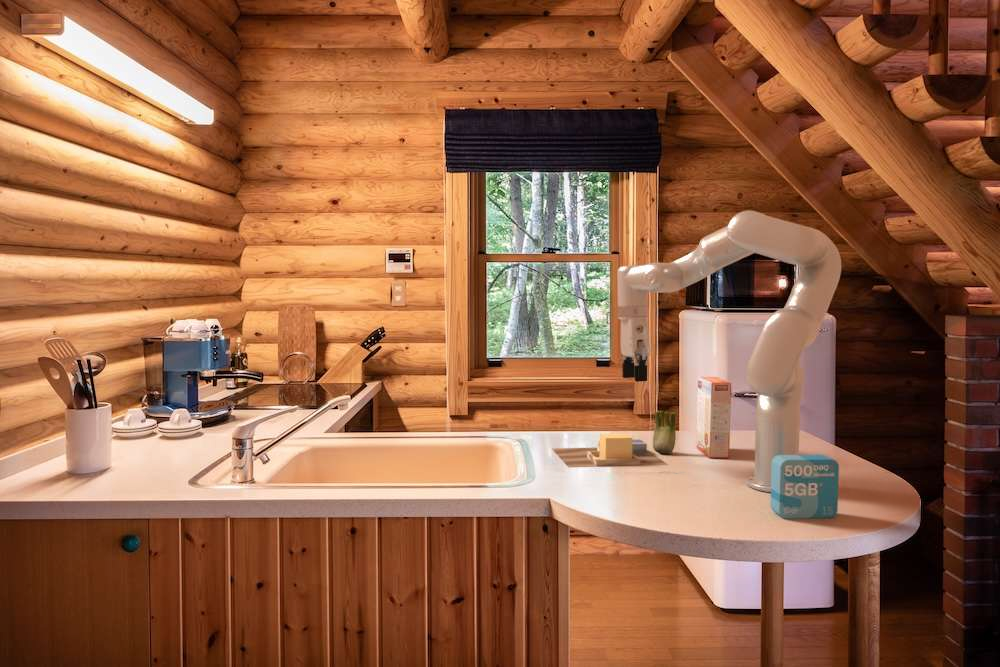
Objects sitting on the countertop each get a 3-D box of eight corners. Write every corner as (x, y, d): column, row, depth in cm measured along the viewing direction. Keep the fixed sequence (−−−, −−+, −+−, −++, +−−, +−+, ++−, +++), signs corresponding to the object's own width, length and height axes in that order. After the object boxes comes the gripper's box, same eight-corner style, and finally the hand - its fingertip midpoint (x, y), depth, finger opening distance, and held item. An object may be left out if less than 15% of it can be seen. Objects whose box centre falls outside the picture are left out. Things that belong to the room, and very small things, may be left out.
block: (632, 462, 189) (632, 437, 189) (605, 463, 188) (605, 438, 188) (625, 457, 195) (625, 433, 195) (599, 458, 194) (599, 433, 194)
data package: (779, 519, 147) (780, 459, 147) (769, 512, 152) (771, 454, 151) (837, 518, 148) (839, 459, 147) (826, 511, 152) (828, 454, 152)
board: (668, 469, 188) (668, 452, 187) (568, 471, 185) (568, 455, 184) (641, 450, 210) (641, 435, 209) (551, 452, 206) (551, 437, 206)
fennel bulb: (677, 454, 205) (678, 411, 204) (664, 456, 202) (665, 413, 202) (661, 450, 210) (662, 408, 209) (649, 452, 207) (650, 410, 206)
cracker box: (730, 458, 200) (732, 382, 199) (708, 458, 200) (710, 382, 199) (716, 447, 214) (718, 376, 213) (695, 447, 214) (697, 376, 213)
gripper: (658, 312, 182) (660, 382, 183) (636, 312, 199) (637, 375, 200) (629, 313, 181) (631, 383, 182) (609, 313, 198) (610, 377, 199)
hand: (634, 379), depth 191 cm, fingers open, 9 cm apart
